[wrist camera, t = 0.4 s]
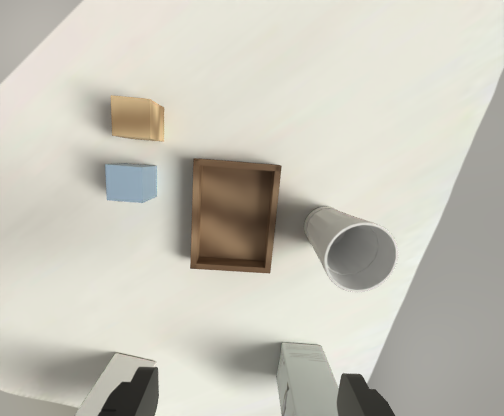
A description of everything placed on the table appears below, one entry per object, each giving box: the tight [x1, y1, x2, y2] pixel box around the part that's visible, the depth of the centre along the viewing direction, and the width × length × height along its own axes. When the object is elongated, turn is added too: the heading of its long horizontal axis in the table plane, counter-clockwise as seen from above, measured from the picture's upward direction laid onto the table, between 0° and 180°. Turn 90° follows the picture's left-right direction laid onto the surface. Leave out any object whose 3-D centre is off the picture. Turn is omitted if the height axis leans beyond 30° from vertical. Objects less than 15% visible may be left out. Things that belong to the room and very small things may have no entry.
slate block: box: [105, 163, 157, 203], centre depth 32 cm, size 4×4×5 cm
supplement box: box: [276, 343, 339, 416], centre depth 36 cm, size 7×7×13 cm
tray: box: [190, 158, 281, 273], centre depth 34 cm, size 16×12×3 cm
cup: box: [304, 207, 398, 292], centre depth 31 cm, size 8×8×12 cm
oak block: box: [111, 96, 164, 142], centre depth 30 cm, size 4×4×5 cm
